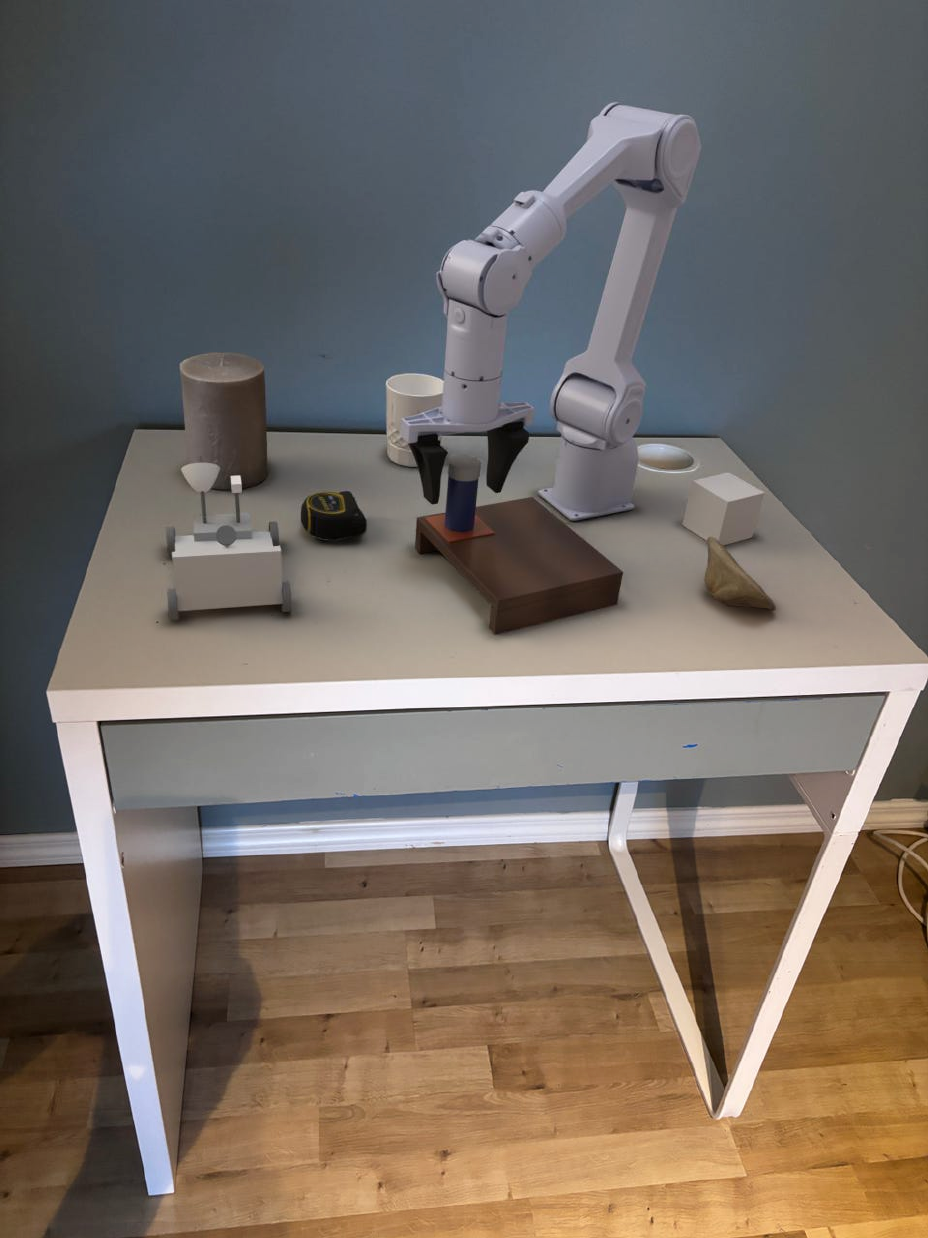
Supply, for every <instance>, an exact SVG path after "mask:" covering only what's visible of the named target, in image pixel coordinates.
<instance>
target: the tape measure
mask: <svg viewBox="0 0 928 1238" xmlns="http://www.w3.org/2000/svg"><path fill="white" fill-rule="evenodd" d="M300 507H301V508H300V523H301V525H302V527H303V529H304V530H305V532H306V533H308V534H309V535H310V536H311V537H313V538H317V539H320V540H323V541H340V540H345V539H348V538H354V537H359V536H362V535H364V534H365V533H366V531H367V524H368V523H367V522H368V521H367V518H366V516H365V514H364V512H363V511H362V510H361V509H360V507H359V505H358V503H357V501H356V496H355V497H354V495H353V493H352V492H350V491H349V490H344V491H339V492H336V491H335V492H334V491H319V492H314V493H313V494H310V495H308V496H307V497H306V498H305V499H304V500H303V502H302V504H301V506H300Z"/></svg>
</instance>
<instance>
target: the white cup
mask: <svg viewBox="0 0 928 1238" xmlns="http://www.w3.org/2000/svg"><path fill="white" fill-rule="evenodd" d="M443 383H444V379H441V378H439V377H437V376H433V375H429V374H424V373H401V374H395V375H393V376H391V377H389V378H388V379H386V381H385V423H386V438H387V441H386V443H387V444H386V445H387V448H386V451H387V454H386V455H387V457H388V458H389V460H390V461H391V462H393V463H394V464H396V465H399V466H403V467H408V468H418V467H417V464H416V461H415V458H414V456H413V453H412V451H411V449H410V447H409V445H408V443H407V441H405V440H404V439H403V438H402V437H401V436H400V428H401V418H405V417H410V416H414V415H418V414H420V413H423V412H426V411H429V410H432V409H435V408H438V407H441V406H442V398H443ZM442 438H443V436H438V440H440V441H441V442H442V440H443V439H442Z"/></svg>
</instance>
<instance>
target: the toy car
mask: <svg viewBox="0 0 928 1238" xmlns="http://www.w3.org/2000/svg"><path fill="white" fill-rule="evenodd" d="M219 470H220V467H219V466H218V465H215V464H212V463H202V456H198V463H192V464H188V463H187V464H185V465H183V466H182V467H181V468H180V471H181V473H182V475H183V477H184V479H185V480H186V481H187V483H188V484H189V486H190V487H191V488H192V489H193V490H194V491H195V492H197V493H198V494H200V504H201V505H200V506H201V514H195V515H192V525H193V535H190V534H189V535H176V529H175V526H167V527H166V528H165V535H166V536H165V538H166V547H167V555H168V556H171V558H172V568H173V570H172V571H173V578H174V579H173V580H174V588H167V590H166V591H167V592H166V595H167V597H166V598H167V609H168V610H167V611H168V619H169V620H170V621H176V620H179V619H180V612H183V611H198V610H200V611H201V610H212V609H228V608H242V607H243V608H244V607H254V606H255V607H256V606H269V605H270V606H271V605H280V606H281V610H282V613H283V612H284V613H285V612H286V613H287V612H291V611H292V608H293V604H292V603H293V602H292V601H293V600H292V589H291V584H290V583H291V582H290V581H288V580H285V581H283V565H282V563H283V562H282V548H281V545H280V535H279V534H280V533H279V525H278V522H277V521H269V522H268V530H267V531H253V528H252V522H251V516H250V514H251V513H250V512H240V510H241V509H240V494H242V493H243V488H242V484H241V477H240V476H237V475H234V476H231V488H232V489H231V493H232V494H234V503H235V504H234V505H235V513H216V514H215V513H214V514H207V508H206V495H205V494H206V493H207V492H209V491H210V490H211V489H212V488H211V487H212V486H213V484H214V482H215V480H216V478H217V476H218V473H219Z"/></svg>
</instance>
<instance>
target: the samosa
mask: <svg viewBox="0 0 928 1238" xmlns="http://www.w3.org/2000/svg"><path fill="white" fill-rule="evenodd" d="M706 545H707V564H706V569H705V571H704V578H703V581H704V584H705V587H706V589H707V590H708V591H709V592H710V593H711V594H712V595H713V597H714V598H715V599H716V600H717V601H719V602H720V603H722V604H724V605H726V606H741V607H742V606H743V607H751V608H758V609H761V608H762V609H763V608H765V609H767V610H770V611H775V610H777V606H776V604H775V602H774V600H773V599H772V598H771V597H770V596H769V595H768V593H766V591H765V590H764V589H763V588H762V586H760V585H759V584H758V582H757V581H756V580H755V579H754V578H753V577H751V575H750V574H748V573H747V572H746V570H744V568H743V567H742V566H740V564H739V563H738V562H737V561H736V559H735V558H734V557H733V556H732V554H731V553H730V552H729V551H728V550H727V549H726V548H725V546H724V545H722V544H721V543H719V541H718V540H716V539H715V538H714V537H711V536H710V537H708V539H707V541H706Z"/></svg>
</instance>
